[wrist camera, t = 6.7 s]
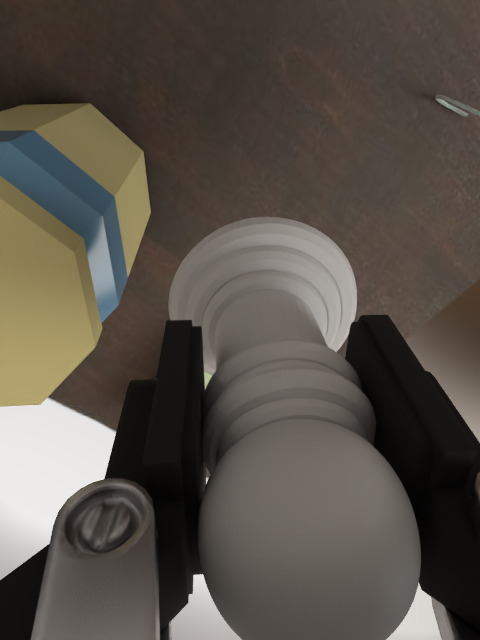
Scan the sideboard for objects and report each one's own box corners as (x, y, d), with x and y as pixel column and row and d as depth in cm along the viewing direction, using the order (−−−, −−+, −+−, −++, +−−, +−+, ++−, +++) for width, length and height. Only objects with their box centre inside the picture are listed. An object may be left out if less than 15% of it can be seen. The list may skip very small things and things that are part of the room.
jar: (133, 272, 30) (75, 442, 17) (-14, 225, 27) (-208, 381, 15) (174, 134, 25) (139, 222, 13) (4, 66, 23) (-247, 89, 10)
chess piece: (203, 390, 15) (201, 759, 7) (141, 244, 12) (24, 583, 4) (363, 347, 14) (549, 692, 7) (334, 185, 12) (595, 447, 4)
